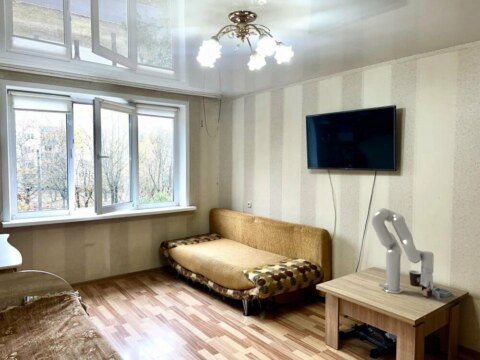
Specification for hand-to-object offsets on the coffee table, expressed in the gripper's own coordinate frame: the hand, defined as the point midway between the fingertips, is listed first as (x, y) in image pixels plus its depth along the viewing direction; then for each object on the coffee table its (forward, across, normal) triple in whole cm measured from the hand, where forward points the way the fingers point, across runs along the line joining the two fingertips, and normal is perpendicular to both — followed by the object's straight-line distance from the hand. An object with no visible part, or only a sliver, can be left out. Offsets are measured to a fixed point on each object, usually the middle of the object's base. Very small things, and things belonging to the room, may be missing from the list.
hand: (426, 293), depth 240 cm
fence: (+2, -4, +6) cm, 7 cm away
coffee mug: (+2, -22, +2) cm, 22 cm away
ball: (-1, 0, 0) cm, 1 cm away
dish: (+2, -6, +12) cm, 14 cm away
